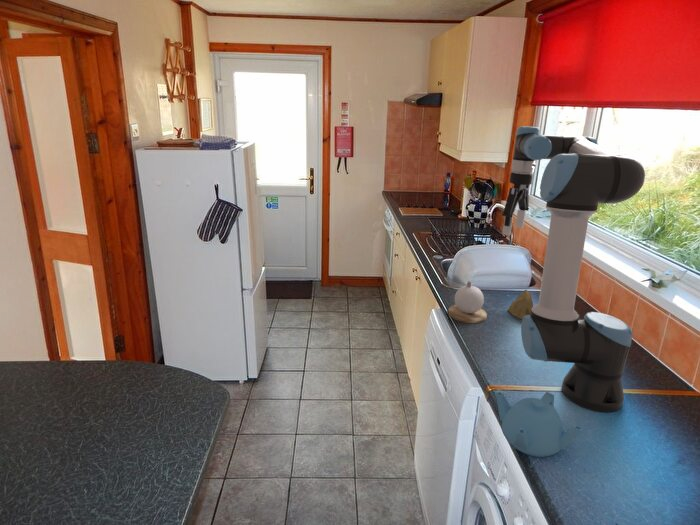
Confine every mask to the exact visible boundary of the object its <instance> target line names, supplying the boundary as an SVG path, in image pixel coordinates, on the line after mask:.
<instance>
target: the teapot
mask: <svg viewBox="0 0 700 525" xmlns="http://www.w3.org/2000/svg"><path fill="white" fill-rule="evenodd" d="M495 398H496V403H497V409H498V415H499V420H500V421H501V432H502V435H503V436H504V437H505V440H507V442H508V443H509V444H510V445H511V446H512V447H513V448H514V449H516V450H517V451H519V452H521V453H523V454H526V455H528V456H531V457H535V458H546V457H550V456H553V455H556V454H557V453H558V452H560V451H564V450H565V449H566V448H567V446H569V445H570V443H571V442H572V441H573V440H574V439H575V438H576V437H577V436H579V434H581V432H582V430H583V427H582V426H579V425H577V424H574V425H573V426H572V427H570V428H569V429H567V430H566V431H565V429H564V424H563V423H562V420H561V418H560V416H559V414H558V412H557V411H556V409H555V407H554V404H555V395H554V394H553V393H550V392H548V391H546V392H545V393H544V394H543V395H542V397H541V398H536V397H525V398H522V399H520V400H518V401H517V402H516V403H514V404H513V405H512V406H510V404H509V402H508V400H507V399H506V396H505V394H504V393H502V392H501V391H497V392H495Z"/></svg>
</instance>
